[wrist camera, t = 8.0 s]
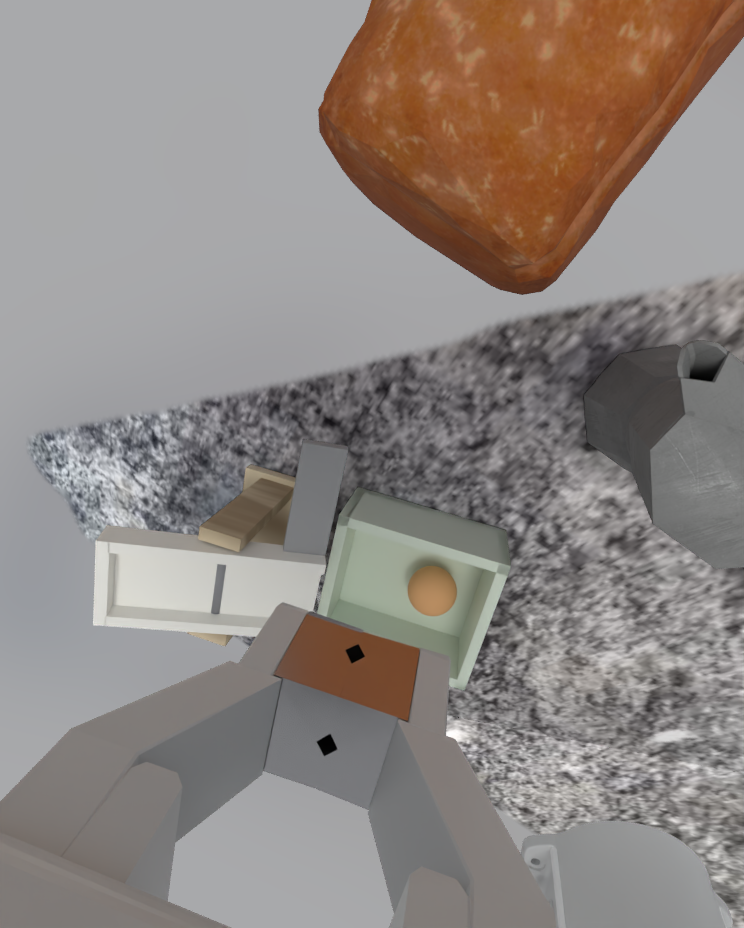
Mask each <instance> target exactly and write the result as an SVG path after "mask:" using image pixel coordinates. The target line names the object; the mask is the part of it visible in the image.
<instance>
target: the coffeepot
mask: <svg viewBox="0 0 744 928" xmlns="http://www.w3.org/2000/svg"><path fill="white" fill-rule="evenodd" d="M584 404H585V421H586V430H587V442H588V443H589V444H591V445H592V446H594V447H595V448H596V449H598V450H599V451H601V452H602V453H603V454H605V455H606V456H608V457H609V458H610V459H612V460H613V461H614V462H616V463H617V464H619V465H620V466H621V467H623V468H624V469H626V470H628V471H630V472H632V473H633V475H634V478H635V480H636V483H637V485H638V488H639V490H640V493H641V495H642V498H643V500H644V503H645V505H646V508H647V510H648V513H649V515H650V518H651V520H652V523H653V524H654V525H655V526H657V527H658V528H659V529H661V530H662V531H664V532H665V533H666V534H668V535H669V536H670V537H672V538H673V539H675V540H676V541H677V542H679V543H680V544H682V545H683V546H684V547H686V548H687V549H689V550H690V551H691V552H693V553H694V554H696V555H697V556H698V557H700V558H701V559H702V560H704V561H705V562H707V563H708V564H709V565H711V566H712V567H714V568H715V569H723V568H739V567H744V364H743V363H742V362H741V361H740V360H738V359H737V358H736V357H735V356H734V355H732V354H731V353H730V352H729V351H727V350H726V349H725V348H724V347H722V346H721V345H720V344H719V343H715V342H710V341H704V340H696V341H691V342H690V343H688V344H686V345H684V346H683V347H682V348H680V347H679V346H678V345H671V346H665V347H658V348H651V349H645V350H640V351H634V352H628V353H622V354H619V355H618V356H617V357H616V359H615V360H614V361H613V362H612V363H611V364H610V365H609V366H608V367H607V368H606V369H605V370H604V371H603V372H602V373H601V374H600V376H599V377H598V378H597V380H596V381H595V383H594V384H593V385H592V386H591V387H590V389H589V390H588V391H587V392H586V393H585V394H584Z"/></svg>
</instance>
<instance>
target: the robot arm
mask: <svg viewBox="0 0 744 928" xmlns="http://www.w3.org/2000/svg"><path fill="white" fill-rule="evenodd" d="M450 664H451V660H450V658H449V656H447V655H444V654H440V653H437V652H434V651H430V650H427V649H424V648H420V649H419V648H417V647H414V646H411V645H408V644H405V643H402V642H399V641H395V640H392V639H389V638H386V637H383V636H380V635H377V634H374V633H371V632H368V631H364V630H363V629H360V628H357V627H354V626H351V625H348V624H346V623H343V622H340V621H337V620H334V619H331V618H329V617H326V616H323V615H320V614H317V613H314V612H312V611H310V612H309V611H308V610H305V609H302V608H299V607H296V606H293V605H290V604H287V603H284V602H282V603H280V604H279V605H278V606H277V607H276V608H275V610H274V611H273V613H272V614H271V616H270V617H269V619H268V620H267V622H266V623H265V625H264V626H263V627H262V629H261V630H260V632H259V633H258V635H257V636H256V638H255V639H254V641H253V642H252V644H251V645H250V647H249V648H248V650H247V651H246V653H245V654H244V656H243V657H242V659H241V660H240V662H239V663H238V664H237V663H234V662H231V661H229V662H226V663H224V664H221V665H220V666H217V667H215V668H212V669H210V670H207V671H205V672H203V673H200V674H198V675H196V676H193V677H191V678H188V679H186V680H184V681H181V682H179V683H177V684H174V685H172V686H170V687H168V688H165V689H163V690H160V691H158V692H156V693H153V694H151V695H149V696H146V697H144V698H142V699H139V700H137V701H135V702H132V703H130V704H128V705H125V706H123V707H120V708H118V709H116V710H114V711H111V712H109V713H107V714H104V715H102V716H99V717H97V718H95V719H92V720H90V721H88V722H85V723H83V724H81V725H78V726H76V727H74V728H71V729H70V730H69V731H68V732H67V733H66V734H65V735H64V736H63V737H62V738H61V739H60V740H59V741H58V743H57V744H56V745H55V746H54V747H53V748H52V749H51V750H50V751H49V752H48V753H47V754H46V755H45V756H44V757H43V758H42V759H41V760H40V761H39V762H38V763H37V764H36V765H35V766H34V767H33V768H32V770H30V772H28V774H27V775H26V776H25V777H24V778H23V779H22V780H21V781H20V782H19V783H18V784H17V785H16V786H15V787H14V788H13V789H12V790H11V791H10V792H9V793H8V794H7V795H6V796H5V797H4V798H3V799H2V800H1V801H0V928H231V927H228V926H226V925H224V924H221V923H218V922H216V921H214V920H211V919H209V918H207V917H204V916H202V915H199V914H197V913H194V912H192V911H190V910H187V909H185V908H182V907H180V906H177V905H175V904H172V903H170V902H168V893H169V885H170V877H171V870H172V862H173V855H174V847H175V842H177V841H178V840H179V839H180V838H182V837H183V836H184V835H186V834H187V833H188V832H189V831H191V830H192V829H193V828H194V827H196V826H197V825H198V824H200V823H201V822H202V821H203V820H205V819H206V818H207V817H209V816H210V815H211V814H212V813H214V812H215V811H216V810H218V809H219V808H220V807H221V806H223V805H224V804H225V803H226V802H228V801H229V800H230V799H231V798H233V797H234V796H235V795H236V794H238V793H239V792H240V791H242V790H243V789H244V788H246V787H247V786H248V785H249V784H251V783H252V782H253V781H254V780H256V779H257V778H258V777H259V776H261V775H262V772H263V771H266V772H268V773H271V774H274V775H277V776H280V777H283V778H286V779H289V780H292V781H295V782H298V783H301V784H304V785H307V786H310V787H313V788H316V789H318V790H321V791H323V792H325V793H328V794H330V795H333V796H335V797H338V798H340V799H343V800H345V801H348V802H350V803H353V804H355V805H358V806H360V807H362V808H365V809H367V810H369V811H368V815H369V819H370V823H371V827H372V830H373V835H374V838H375V842H376V846H377V850H378V853H379V857H380V861H381V865H382V869H383V872H384V876H385V880H386V884H387V888H388V892H389V896H390V899H391V903H392V907H393V911H394V916H393V919H392V921H391V924H390V926H389V928H731V927H732V925H733V921H732V918H731V914H730V911H729V908H728V907H727V905H726V904H725V903H724V901H723V900H722V899H721V898H720V897H719V896H718V895H717V894H716V893H715V892H714V891H713V889H712V886H711V883H710V879H709V875H708V872H707V869H706V867H705V865H704V864H703V862H702V861H701V859H700V858H699V857H698V856H697V854H696V853H695V852H694V851H693V850H692V849H691V848H689V847H688V846H687V845H686V844H684V843H683V842H682V841H680V840H679V839H677V838H675V837H673V836H672V835H670V834H668V833H666V832H663V831H661V830H658V829H656V828H653V827H650V826H646V825H642V824H638V823H632V822H624V821H599V822H592V823H587V824H583V825H580V826H577V827H574V828H571V829H569V830H566V831H564V832H561V833H557V834H541V835H532V836H529V837H527V838H525V839H524V841H523V844H522V850H521V854H520V852H519V850H518V849H517V847H516V845H515V843H514V842H513V840H512V838H511V837H510V835H509V833H508V831H507V829H506V828H505V826H504V824H503V822H502V821H501V819H500V817H499V815H498V814H497V812H496V810H495V808H494V806H493V805H492V803H491V801H490V799H489V798H488V796H487V794H486V792H485V791H484V789H483V787H482V785H481V784H480V782H479V780H478V778H477V777H476V775H475V773H474V771H473V770H472V768H471V766H470V764H469V762H468V761H467V759H466V757H465V755H464V754H463V752H462V750H461V748H460V747H459V745H458V743H457V741H456V740H455V739H453V738H451V737H448V736H446V725H447V710H448V695H449V680H450ZM316 786H317V787H316Z"/></svg>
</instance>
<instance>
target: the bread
mask: <svg viewBox="0 0 744 928" xmlns="http://www.w3.org/2000/svg"><path fill="white" fill-rule="evenodd" d="M743 37H744V0H372V1H371V4H370V7H369V10H368V13H367V16H366V19H365V22H364V24H363V25H362V27H361V28H360V30H359V31H358V33H357V34H356V36H355V37H354V39H353V40H352V42H351V43H350V45H349V47H348V49H347V51H346V52H345V54H344V56H343V58H342V60H341V62H340V64H339V66H338V68H337V70H336V72H335V74H334V75H333V77H332V79H331V81H330V84H329V85H328V87H327V89H326V91H325V93H324V101H323V102H322V104H321V106H320V107H319V109H318V110H319V127H320V128H319V129H320V133H321V135H322V137H323V139H324V141H325V142H326V144H327V146H328V147H329V149H330V151H331V152H332V154H333V155H334V157H335V159H336V160H337V162H338V163H339V165H340V166H341V168H342V170H343V171H344V172H345V173H346V175H347V176H348V177H349V178H350V180H351V181H352V182H353V183H354V184H355V185H356V186H357V187H358V188H359V189H360V190H361V192H363V194H364V195H365V196H366V197H367V198H368V199H369V200H370V201H371V202H372V203H373V204H374V205H376V206H377V207H378V208H379V209H381V210H382V211H383V212H385V213H386V214H387V215H388V216H390V217H391V218H392V219H394V220H395V221H396V222H398V223H399V224H400V225H401V226H403V227H404V228H405V229H406V230H408V231H409V232H410V233H411V234H413V235H414V236H416V237H417V238H418V239H420V240H422V241H423V242H425V243H427V244H428V245H429V246H431V247H432V248H434V249H435V250H437V251H439V252H440V253H442V254H443V255H445V256H446V257H448V258H450V259H451V260H452V261H454V262H456V263H457V264H459V265H460V266H462V267H463V268H465V269H466V270H468V271H469V272H471V273H473V274H474V275H476V276H477V277H479V278H480V279H482V280H484V281H485V282H486V283H488V284H490V285H491V286H493V287H496V288H498V289H500V290H504V291H508V292H512V293H517V294H522V295H523V294H529V293H535V292H541V291H543V290H544V289H546V288H547V287H548V286H550V285H551V284H552V283H553V282H555V281H556V280H557V279H558V277H559V276H560V275H561V273H562V272H563V271H564V270H565V269H566V267H567V266H568V265H569V264H570V262H571V261H572V260H573V259H574V257H575V256H576V255H577V254H578V252H579V251H580V250H581V249H582V248H583V246H584V245H585V244H586V243H587V241H588V240H589V239H590V238H591V236H592V235H593V234H594V233H595V231H596V230H597V229H598V227H599V225H600V224H601V222H602V221H603V219H604V217H605V216H606V214H607V213H608V211H609V210H610V208H611V206H612V205H613V203H614V202H615V200H616V199H617V198H618V197H619V195H620V194H621V193H622V192H623V191H624V189H625V188H626V187H627V186H628V184H629V183H630V182H631V181H632V179H633V178H634V177H635V176H636V175H637V173H638V172H639V171H640V170H641V168H642V167H643V166H644V165H645V164H646V162H647V161H648V160H649V158H650V157H651V155H652V154H653V153H654V151H655V150H656V149H657V147H658V146H659V145H660V143H661V142H662V140H663V139H664V137H665V136H666V135H667V133H668V132H669V131H670V130H671V128H672V127H673V125H674V124H675V123H676V122H677V121H678V119H679V118H680V117H681V115H682V114H683V113H684V112H685V110H686V109H687V108H688V106H689V105H690V104H691V103H692V101H693V100H694V99H695V97H696V96H697V95H698V94H699V92H700V91H701V90H702V88H703V87H704V86H705V85H706V83H707V82H708V81H709V80H710V79H711V77H712V76H713V75H714V74H715V72H716V71H717V70H718V68H719V67H720V66H721V65H722V63H723V62H724V61H725V60H726V58H727V57H728V56H729V55H730V53H731V52H732V51H733V50H734V48H735V47H736V46H737V45H738V43H739V42H740V41H741V40H742V38H743Z"/></svg>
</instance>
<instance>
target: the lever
mask: <svg viewBox="0 0 744 928" xmlns="http://www.w3.org/2000/svg"><path fill="white" fill-rule="evenodd" d="M347 455H348V447H347V446H344V445H338V444H332V443H326V442H320V441H313V440H307V439H303V441H302V447H301V452H300V458H299V463H298V468H297V474H296V479H295V485H294V490H293V496H292V501H291V506H290V512H289V517H288V523H287V528H286V534H285V539H284V544H283V545H277V544H269V543H260V542H251V541H250V542H249V543H248V544H247V545H246V546H245V547H244V548H243V549H242V550H241V551H240V552H236V551H233V550H230V549H227V548H224V547H221V546H218V545H215V544H211V543H208V542H205V541H202V540H199V539H198V535H189V534H180V533H171V532H163V531H154V530H145V529H136V528H127V527H118V526H110V525H107V526H106V527H105V529H104V530H103V531H102V533H101V534H100V536H99V537H98V538H97V540H96V552H95V583H94V614H93V615H94V616H93V625H99V626H113V627H127V628H141V629H155V630H170V631H184V632H197V633H211V634H225V635H239V636H253V637H256V636H257V635H258V633H259V632H260V630H261V629H262V627H263V626H264V625H265V623H266V622H267V620H268V619H269V617H270V616H271V614H272V613H273V611H274V610H275V608H276V607H277V606H278V605H279V604H280V603H282V602H284V603H287V604H290V605H293V606H296V607H299V608H302V609H305V610H308V611H309V612H310V611H312V612H313V609H314V604H315V600H316V595H317V591H318V586H319V582H320V577H321V575H324V573H325V569H326V559H325V554H326V550H327V545H328V541H329V536H330V532H331V527H332V523H333V518H334V514H335V509H336V504H337V500H338V495H339V491H340V486H341V482H342V477H343V473H344V468H345V464H346V459H347Z"/></svg>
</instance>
